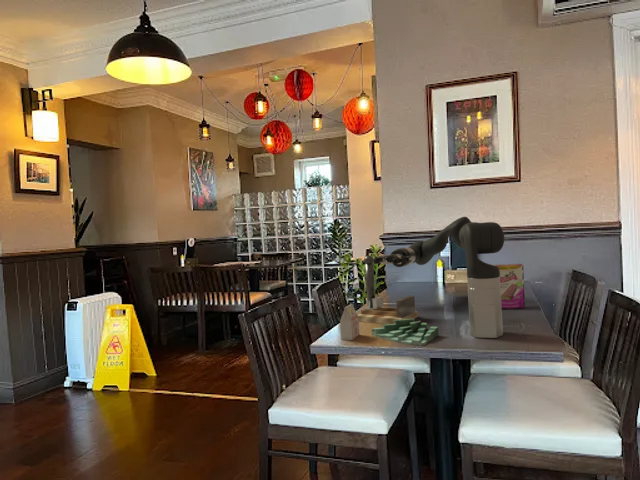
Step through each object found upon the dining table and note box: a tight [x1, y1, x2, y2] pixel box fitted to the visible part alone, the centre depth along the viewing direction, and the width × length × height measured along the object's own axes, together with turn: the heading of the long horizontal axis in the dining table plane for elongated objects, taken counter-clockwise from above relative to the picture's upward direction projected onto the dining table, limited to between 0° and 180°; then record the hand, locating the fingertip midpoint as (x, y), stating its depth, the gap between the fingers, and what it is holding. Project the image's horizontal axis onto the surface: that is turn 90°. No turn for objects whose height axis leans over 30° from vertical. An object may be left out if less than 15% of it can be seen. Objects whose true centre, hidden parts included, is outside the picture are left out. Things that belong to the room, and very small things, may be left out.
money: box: [371, 318, 439, 347], centre depth 144 cm, size 20×16×5 cm
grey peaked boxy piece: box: [339, 303, 360, 341], centre depth 147 cm, size 4×7×10 cm, turn 157°
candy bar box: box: [493, 263, 526, 310], centre depth 176 cm, size 11×5×16 cm, turn 84°
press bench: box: [357, 295, 419, 325], centre depth 170 cm, size 18×14×8 cm
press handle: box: [363, 254, 385, 311], centre depth 173 cm, size 6×5×21 cm
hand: (384, 261), depth 182 cm, fingers open, 8 cm apart
